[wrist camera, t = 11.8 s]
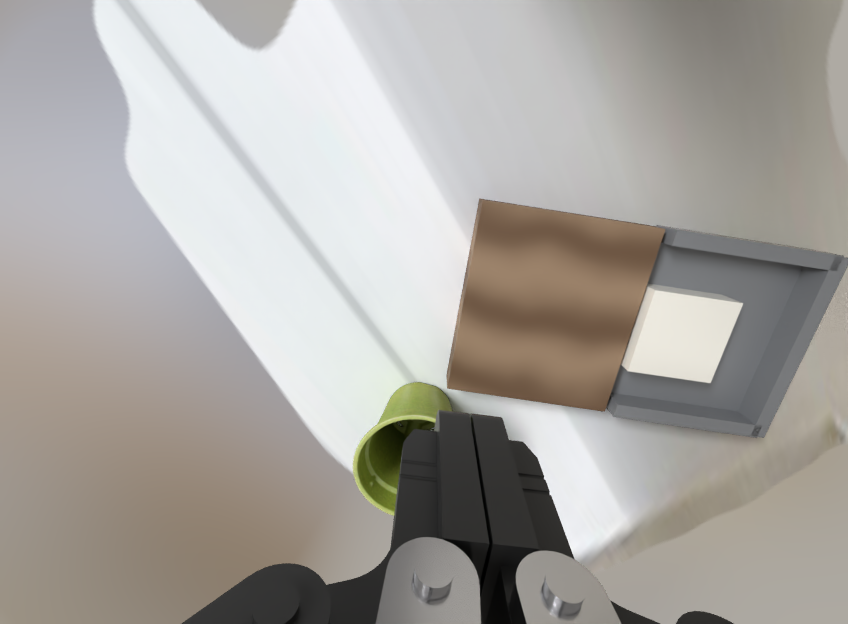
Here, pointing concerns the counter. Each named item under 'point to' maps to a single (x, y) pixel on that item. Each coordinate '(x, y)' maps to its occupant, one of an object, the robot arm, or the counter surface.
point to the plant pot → (394, 441)
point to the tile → (680, 333)
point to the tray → (736, 331)
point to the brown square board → (549, 304)
